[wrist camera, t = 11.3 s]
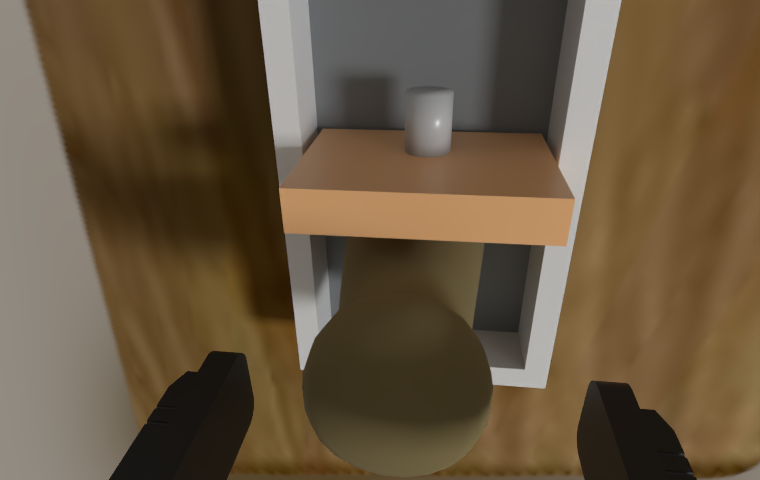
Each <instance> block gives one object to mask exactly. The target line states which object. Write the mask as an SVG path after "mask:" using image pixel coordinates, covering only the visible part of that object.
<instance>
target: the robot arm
mask: <svg viewBox="0 0 760 480" xmlns="http://www.w3.org/2000/svg"><path fill="white" fill-rule="evenodd" d="M253 410H254V397H253V391H252V386H251V381H250V376H249V370H248V365H247V360H246V357H245V355H244V354H243V353H234V352H220V351H212V352H210V353H209V354H208V356H207V357H206V359H205V361H204V362H203V364H202V366H201V367H200V369H199V371H198V372H191V371H187V372H186V373H185V374H184V375H182V376H181V377H180V378H179V379H178V380H176V381H175V382H174V383H173V384H172V385H170V386H169V387H168V389H167V390H166V392H165V394H164V395H163V397H162V398H161V400H160V401H159V403H158V404H157V408H156V409H154V411H153V412H152V414H151V415H150V417H149V418H148V420H147V424H145V425H144V426H143V428H142V429H141V431H140V432H139V434H138V435H137V437H136V439H135V440H134V442H133V443H132V445H131V446H130V448H129V449H128V451H127V452H126V454H125V456H124V457H123V459H122V460H121V462H120V463H119V465H118V466H117V468H116V470H115V471H114V473H113V474H112V476H111V477H110V479H109V480H227V478H228V476H229V473H230V471H231V468H232V466H233V464H234V461H235V459H236V457H237V454H238V452H239V450H240V447H241V445H242V442H243V440H244V438H245V435H246V433H247V431H248V428H249V426H250V423H251V420H252V416H253ZM577 448H578V455H579V459H580V463H581V467H582V471H583V475H584V479H585V480H697V479H696V477H694V476H693V470H692V468H691V466H690V464H689V462H688V460H687V458H685V456H684V454H685V453H684V451H683V449H682V447H681V445H680V442H679V440H678V438H677V436H676V434H675V432H674V430H673V429H672V428H671V427H670V426H669V425H668V424H667V423H666V421H665V420H664V419H663V418H662V417H661V416H660V415H659V414H658V413H657V412H656V411H655V410H648V409H640V408H639V405H638V403H637V400H636V398H635V396H634V393H633V391H632V389H631V387H630V385H629V384H627V383H616V382H603V381H591V382H590V384H589V386H588V390H587V394H586V397H585V401H584V405H583V409H582V413H581V417H580V421H579V424H578V430H577Z"/></svg>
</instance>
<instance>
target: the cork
mask: <svg viewBox="0 0 760 480" xmlns="http://www.w3.org/2000/svg"><path fill="white" fill-rule="evenodd" d="M484 245H485V243H481V242H460V241H439V240H417V239H396V238H374V237H353V236H346V242H345V252H344V261H343V271H342V281H341V291H340V301H339V310H338V311H337V313H336V314H335V315H334V316H333V317H332V318H331V319H330V321H329V322H328V323H327V324H326V325H325V326H324V328H323V329H322V330H321V331H320V332H319V334H318V335H317V336H316V337H315V339H314V342H313V344H312V347H311V349H310V352H309V355H308V358H307V361H306V364H305V368H304V371H303V386H302V389H303V398H304V406H305V411H306V413H307V416H308V418H309V420H310V423H311V425H312V426H313V428H314V430H315V432H316V434H317V436H318V438H319V439H320V441H321V442H322V443H323V444H324V445H325V446H326V447H327V448H328V449H329V450H330V451H331V452H333V453H334V454H335V455H336V456H337V457H339V458H341V459H342V460H344V461H346V462H348V463H350V464H351V465H353V466H355V467H357V468H360V469H363V470H366V471H369V472H373V473H376V474H379V475H387V476H397V477H411V476H420V475H429V474H431V473H434V472H437V471H440V470H442V469H445V468H448V467H450V466H452V465H453V464H454V463H456V462H457V461H458V460H460V459H461V458H462V457H464V456H465V455H466V454H467V453H468V452H469V451H470V449H471V448H472V447H473V446H474V444H475V443H476V441H477V440H478V438H479V437H480V435H481V434H482V432H483V430H484V429H485V427H486V426H487V422H488V418H489V413H490V409H491V401H492V393H493V382H492V374H491V370H490V366H489V363H488V360H487V356H486V353H485V350H484V348H483V346H482V344H481V342H480V340H479V338H478V336H477V335H476V334H475V332H474V331H473V330H472V326H473V319H474V312H475V306H476V299H477V292H478V285H479V279H480V272H481V265H482V258H483V252H484Z"/></svg>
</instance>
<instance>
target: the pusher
mask: <svg viewBox="0 0 760 480" xmlns="http://www.w3.org/2000/svg"><path fill="white" fill-rule="evenodd" d="M453 99H454V91H453V90H452V89H449V88H445V87H438V86H420V87H413V88H409V89H407V90H406V91H405V130H363V129H322V131H321V132H320V133H319V135H318V136H317V137H316V139H315V140H314V142H313V143H312V144H311V146H310V147H309V148H308V150H307V151H306V152H305V154H304V155H303V156H302V158H301V159H300V160H299V162H298V163H297V164H296V166H295V167H294V168H293V170H292V171H291V173H290V174H289V175H288V177H287V178H286V179H285V181H284V182H283V183H282V185H281V186H280V187H279V194H280V202H281V211H282V219H283V228H284V233H288V234H310V235H331V236H353V237H374V238H396V239H417V240H439V241H460V242H481V243H503V244H524V245H546V246H567V241H568V235H569V230H570V225H571V219H572V214H573V209H574V204H575V197H574V196H573V194H572V192H571V190H570V188H569V186H568V184H567V182H566V180H565V178H564V176H563V174H562V172H561V170H560V169H559V167H558V165H557V163H556V161H555V159H554V157H553V155H552V153H551V151H550V149H549V147H548V145H547V143H546V142H545V140H544V138H543V136H542V134H536V133H493V132H452V117H453Z"/></svg>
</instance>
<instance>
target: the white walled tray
mask: <svg viewBox="0 0 760 480" xmlns="http://www.w3.org/2000/svg"><path fill="white" fill-rule="evenodd" d="M620 5H621V0H258V8H259V16H260V25H261V33H262V42H263V50H264V59H265V68H266V76H267V85H268V93H269V102H270V110H271V119H272V128H273V136H274V145H275V153H276V162H277V170H278V179H279V187H280V186H281V185H282V183H283V182H284V181H285V179H286V178H287V177H288V175H289V174H290V173H291V171H292V170H293V168H294V167H295V166H296V164H297V163H298V162H299V160H300V159H301V158H302V156H303V155H304V154H305V152H306V151H307V150H308V148H309V147H310V146H311V144H312V143H313V142H314V140H315V139H316V137H317V136H318V135H319V133H320V132H321V131H322V129H363V130H405V91H406V90H407V89H409V88H413V87H420V86H438V87H445V88H449V89H452V90H453V91H454V99H453V117H452V132H493V133H536V134H542V136H543V138H544V140H545V142H546V143H547V145H548V147H549V149H550V151H551V153H552V155H553V157H554V159H555V161H556V163H557V165H558V167H559V169H560V170H561V172H562V174H563V176H564V178H565V180H566V182H567V184H568V186H569V188H570V190H571V192H572V194H573V196H574V197H575V204H574V209H573V214H572V219H571V225H570V230H569V235H568V241H567V246H546V245H524V244H503V243H485V245H484V252H483V258H482V265H481V272H480V279H479V285H478V292H477V299H476V306H475V312H474V319H473V326H472V330H473V331H474V332H475V334H476V335H477V336H478V338H479V340H480V342H481V344H482V346H483V348H484V350H485V353H486V356H487V360H488V363H489V366H490V370H491V374H492V382H493V385H506V386H519V387H532V388H545V387H546V382H547V377H548V372H549V367H550V362H551V357H552V351H553V346H554V341H555V336H556V331H557V326H558V321H559V316H560V311H561V306H562V300H563V295H564V290H565V285H566V280H567V275H568V270H569V265H570V260H571V255H572V250H573V244H574V239H575V234H576V229H577V224H578V219H579V214H580V209H581V204H582V199H583V193H584V188H585V183H586V178H587V173H588V168H589V163H590V158H591V153H592V148H593V142H594V137H595V132H596V127H597V122H598V117H599V112H600V107H601V102H602V97H603V91H604V86H605V81H606V76H607V71H608V66H609V61H610V56H611V51H612V46H613V40H614V35H615V30H616V25H617V20H618V15H619V10H620ZM285 239H286V248H287V256H288V265H289V273H290V282H291V290H292V299H293V308H294V316H295V325H296V333H297V342H298V350H299V359H300V368H301V370H304V368H305V364H306V361H307V358H308V355H309V352H310V349H311V347H312V344H313V342H314V339H315V337H316V336H317V335H318V334H319V332H320V331H321V330H322V329H323V328H324V326H325V325H326V324H327V323H328V322H329V321H330V319H331V318H332V317H333V316H334V315H335V314H336V313H337V311H338V310H339V301H340V291H341V281H342V271H343V261H344V252H345V242H346V236H331V235H310V234H288V233H285Z"/></svg>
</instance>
